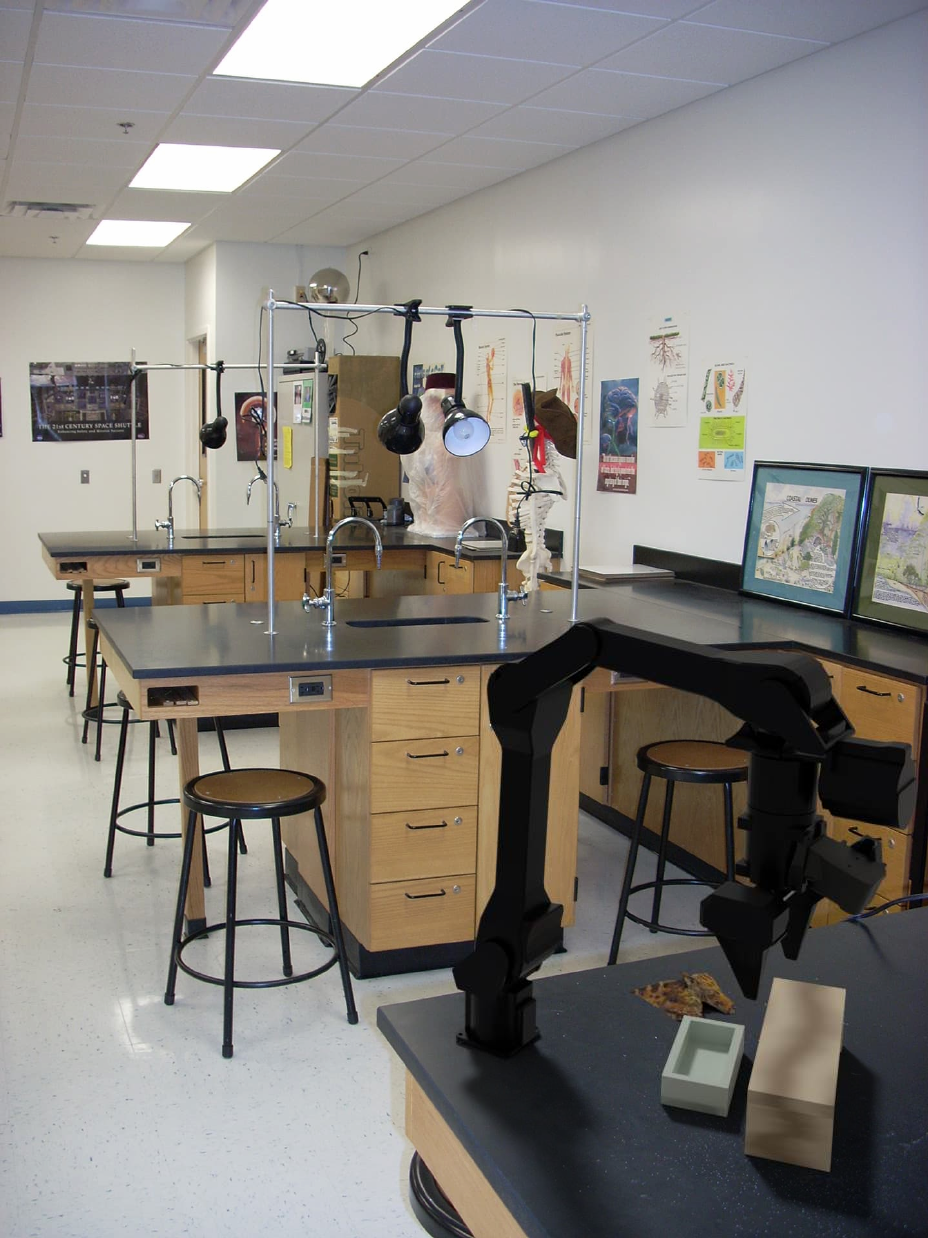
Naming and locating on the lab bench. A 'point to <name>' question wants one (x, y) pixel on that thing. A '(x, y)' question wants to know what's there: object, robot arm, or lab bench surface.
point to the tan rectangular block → (796, 1075)
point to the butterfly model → (686, 996)
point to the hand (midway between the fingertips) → (771, 978)
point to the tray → (703, 1066)
